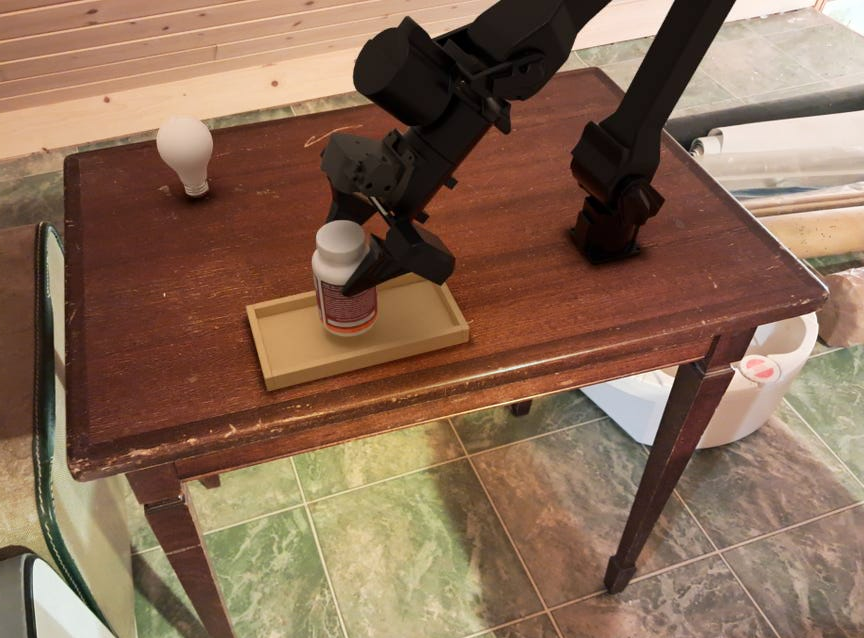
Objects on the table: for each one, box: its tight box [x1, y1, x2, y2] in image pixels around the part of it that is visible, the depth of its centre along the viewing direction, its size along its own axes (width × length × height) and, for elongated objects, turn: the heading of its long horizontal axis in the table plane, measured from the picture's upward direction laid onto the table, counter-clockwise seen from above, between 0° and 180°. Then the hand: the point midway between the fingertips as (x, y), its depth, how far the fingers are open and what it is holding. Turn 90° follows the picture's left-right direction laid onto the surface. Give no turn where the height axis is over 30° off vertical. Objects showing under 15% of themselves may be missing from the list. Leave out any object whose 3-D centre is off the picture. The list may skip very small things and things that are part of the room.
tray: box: [245, 272, 471, 392], centre depth 77 cm, size 22×11×2 cm, turn 107°
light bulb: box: [156, 114, 214, 199], centre depth 89 cm, size 7×7×11 cm
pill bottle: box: [311, 220, 378, 337], centre depth 71 cm, size 6×6×11 cm
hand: (331, 274), depth 70 cm, fingers closed on pill bottle, 6 cm apart
